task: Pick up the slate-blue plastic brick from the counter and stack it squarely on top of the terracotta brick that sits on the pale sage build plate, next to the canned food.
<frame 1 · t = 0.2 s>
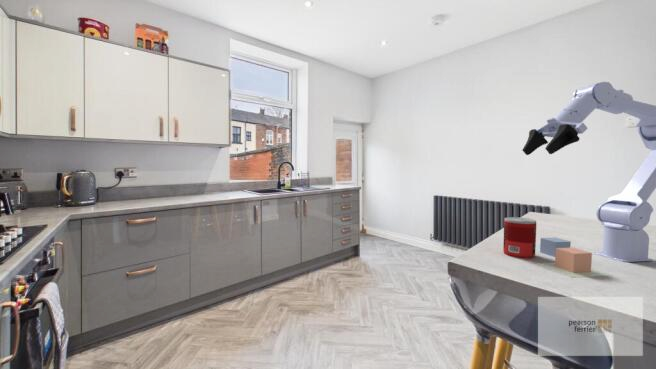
hand: (536, 152, 79), 31 cm above the counter, tool tilted 45°, fingers open, 7 cm apart
blue brick: (554, 255, 87), on the counter
build plate: (572, 270, 74), on the counter
canned food: (518, 256, 86), on the counter
terracotta brick: (572, 268, 74), resting on build plate
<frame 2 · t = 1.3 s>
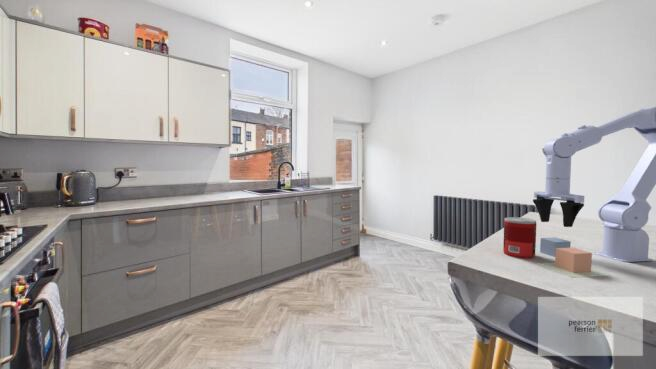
hand: (555, 224, 86), 9 cm above the counter, tool pointing down, fingers open, 7 cm apart
nothing on the counter moved.
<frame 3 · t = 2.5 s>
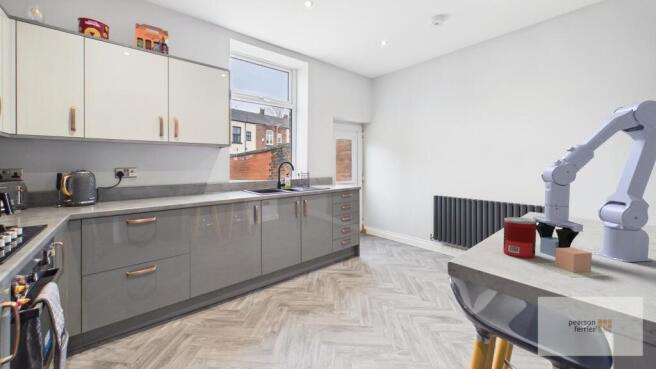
hand: (554, 250, 87), 1 cm above the counter, tool pointing down, fingers closed on blue brick, 5 cm apart
blue brick: (554, 255, 87), on the counter, touching gripper
everything else where it was.
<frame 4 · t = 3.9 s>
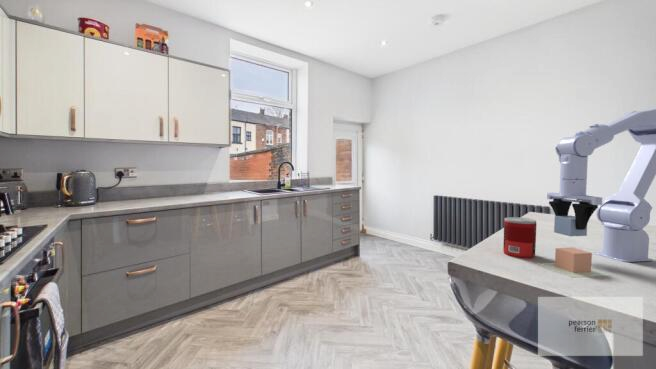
hand: (571, 227, 82), 9 cm above the counter, tool pointing down, fingers closed on blue brick, 5 cm apart
blue brick: (570, 234, 82), point 7 cm above the counter, touching gripper
everything else where it was.
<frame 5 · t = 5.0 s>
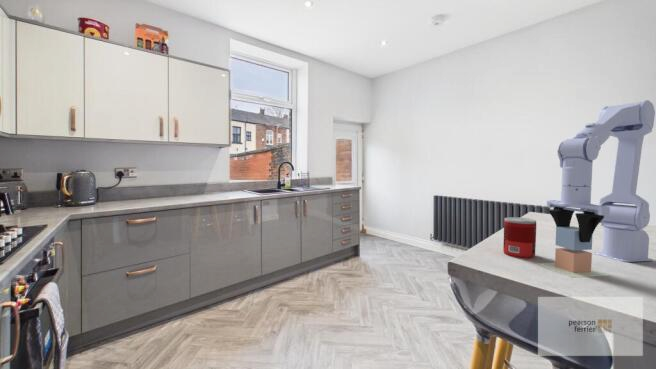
hand: (573, 239, 74), 8 cm above the counter, tool pointing down, fingers closed on blue brick, 5 cm apart
blue brick: (573, 247, 74), point 6 cm above the counter, touching gripper
everything else where it was.
when the fingers open (8 cm above the counter, at t = 5.5 s): blue brick stays where it is, resting on terracotta brick.
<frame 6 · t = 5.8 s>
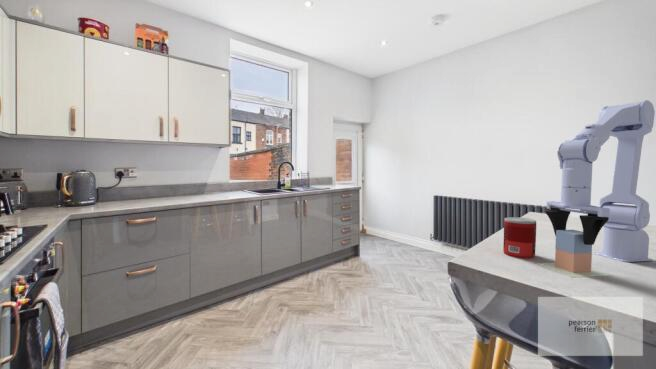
hand: (573, 240, 74), 8 cm above the counter, tool pointing down, fingers open, 7 cm apart
blue brick: (573, 250, 74), point 5 cm above the counter, touching terracotta brick
terracotta brick: (572, 268, 74), resting on build plate, touching blue brick
everything else where it was.
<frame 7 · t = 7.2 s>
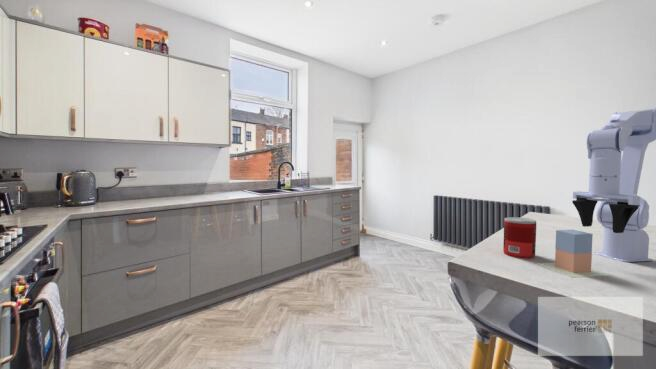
hand: (601, 229, 74), 10 cm above the counter, tool pointing down, fingers open, 7 cm apart
nothing on the counter moved.
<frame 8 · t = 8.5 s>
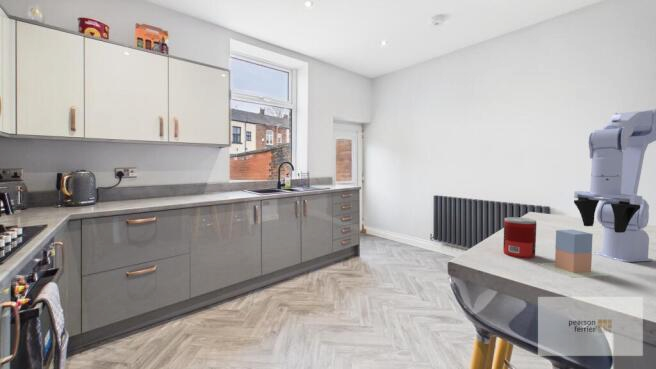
hand: (603, 229, 74), 10 cm above the counter, tool pointing down, fingers open, 7 cm apart
nothing on the counter moved.
at the end: blue brick 0.1 cm off-centre on the terracotta brick, point 4.8 cm above the terracotta brick's base; blue brick tilted 0°; the gripper is holding nothing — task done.
